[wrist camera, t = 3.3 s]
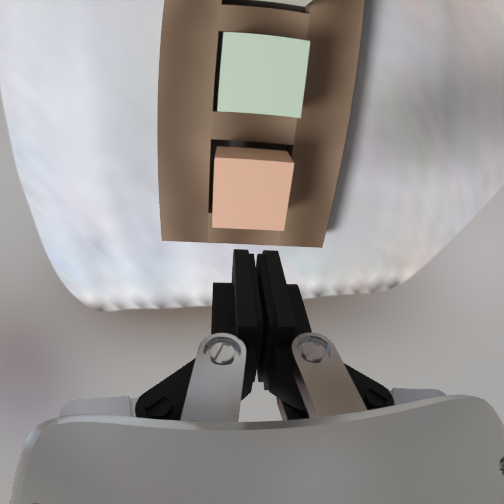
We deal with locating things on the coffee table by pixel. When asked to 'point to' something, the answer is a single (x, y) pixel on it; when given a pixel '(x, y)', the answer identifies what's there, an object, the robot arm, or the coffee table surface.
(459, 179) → the coffee table surface
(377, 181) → the coffee table surface
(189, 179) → the brown tile tray
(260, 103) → the tile sage
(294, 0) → the tile cream
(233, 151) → the tile terracotta
